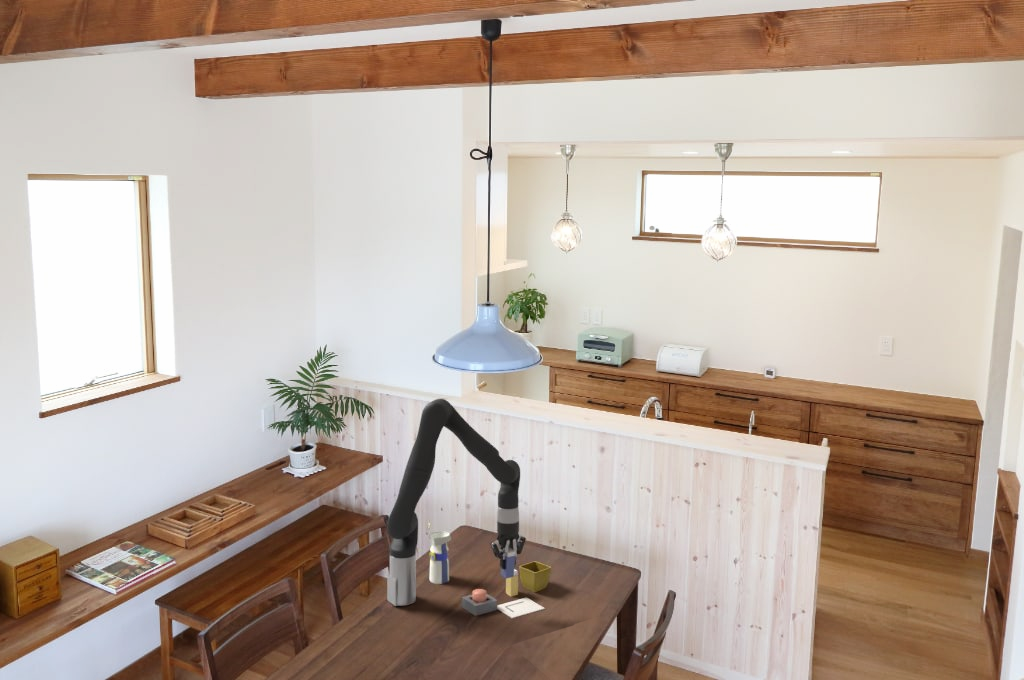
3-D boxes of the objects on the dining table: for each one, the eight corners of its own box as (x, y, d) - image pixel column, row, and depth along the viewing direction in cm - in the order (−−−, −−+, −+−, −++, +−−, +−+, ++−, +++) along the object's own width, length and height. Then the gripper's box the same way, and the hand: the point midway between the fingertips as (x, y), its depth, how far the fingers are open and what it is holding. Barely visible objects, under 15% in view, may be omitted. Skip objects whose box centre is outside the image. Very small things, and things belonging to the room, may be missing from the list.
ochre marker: (510, 597, 306) (511, 572, 305) (505, 594, 308) (506, 569, 307) (517, 595, 308) (518, 570, 307) (512, 592, 310) (513, 567, 309)
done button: (477, 607, 293) (477, 595, 292) (469, 601, 297) (469, 591, 296) (489, 603, 296) (489, 592, 295) (481, 598, 300) (481, 587, 299)
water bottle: (437, 590, 311) (437, 524, 309) (423, 583, 318) (424, 518, 315) (454, 584, 317) (455, 520, 314) (441, 578, 323) (441, 514, 321)
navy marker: (505, 578, 289) (508, 553, 287) (500, 574, 292) (503, 549, 289) (513, 576, 291) (516, 551, 289) (508, 572, 293) (511, 547, 291)
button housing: (475, 615, 290) (475, 606, 290) (461, 606, 298) (461, 597, 297) (497, 609, 295) (497, 600, 295) (483, 600, 303) (483, 591, 302)
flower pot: (534, 583, 320) (534, 560, 319) (551, 590, 313) (551, 566, 312) (518, 589, 313) (518, 566, 312) (534, 596, 307) (535, 572, 306)
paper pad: (512, 618, 289) (512, 617, 289) (494, 607, 298) (494, 606, 298) (544, 609, 297) (544, 608, 297) (526, 598, 306) (526, 597, 306)
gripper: (496, 525, 282) (496, 575, 284) (531, 518, 290) (531, 567, 291) (484, 519, 288) (484, 568, 290) (518, 512, 296) (518, 560, 298)
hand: (508, 567), depth 291 cm, fingers closed on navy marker, 3 cm apart
